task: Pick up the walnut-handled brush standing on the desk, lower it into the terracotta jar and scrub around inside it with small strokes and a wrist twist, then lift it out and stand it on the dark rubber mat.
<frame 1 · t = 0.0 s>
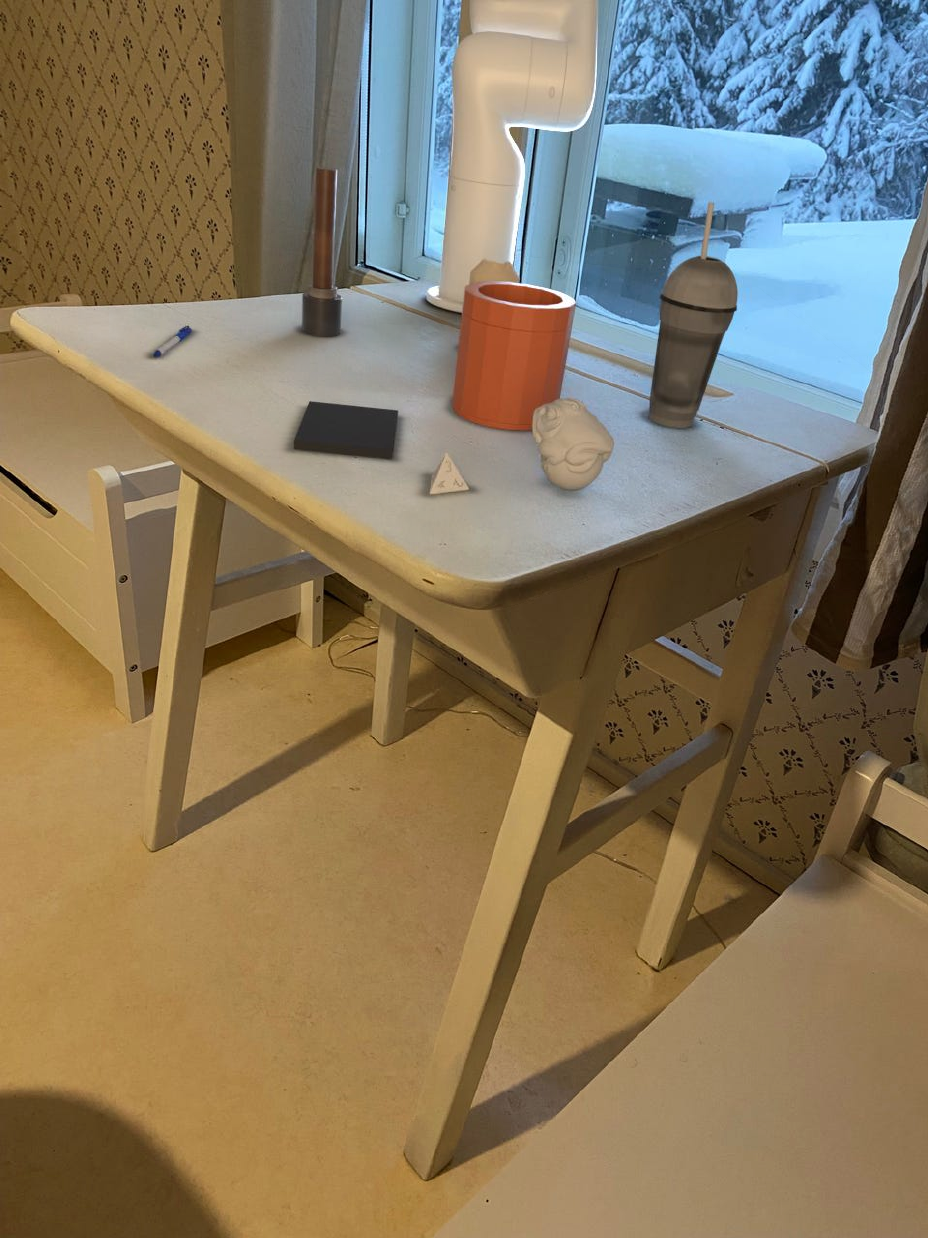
frog figurine: (563, 488, 75), on the table
brush: (321, 331, 107), on the table
tetrahedral die: (440, 491, 72), on the table
beverage cup: (669, 421, 93), on the table
mat: (348, 433, 80), on the table
blue and white marker: (173, 347, 96), on the table
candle: (485, 353, 107), on the table
jar: (503, 412, 89), on the table
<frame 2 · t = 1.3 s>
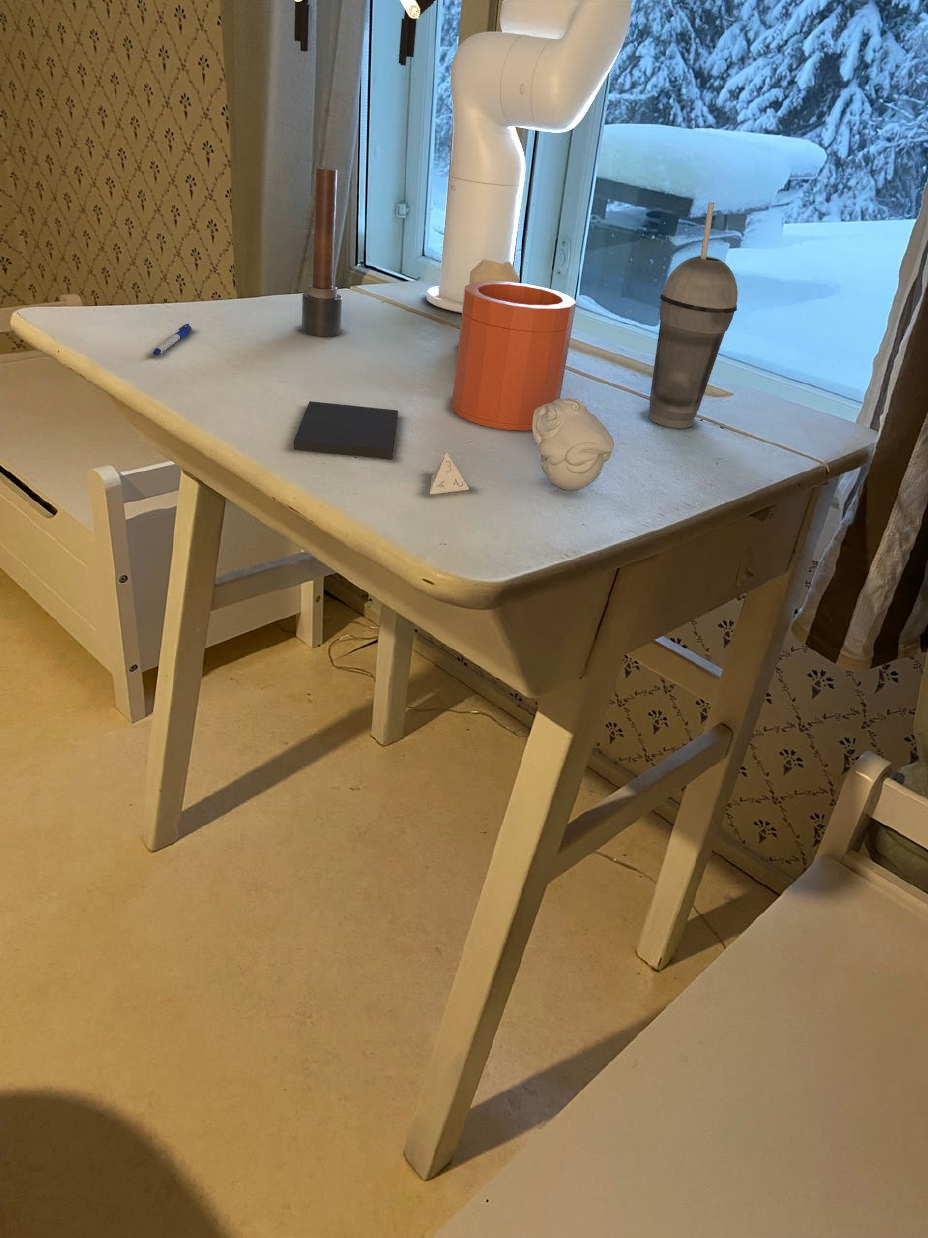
hand: (354, 58, 92), 27 cm above the table, tool pointing down, fingers open, 9 cm apart
nothing on the table moved.
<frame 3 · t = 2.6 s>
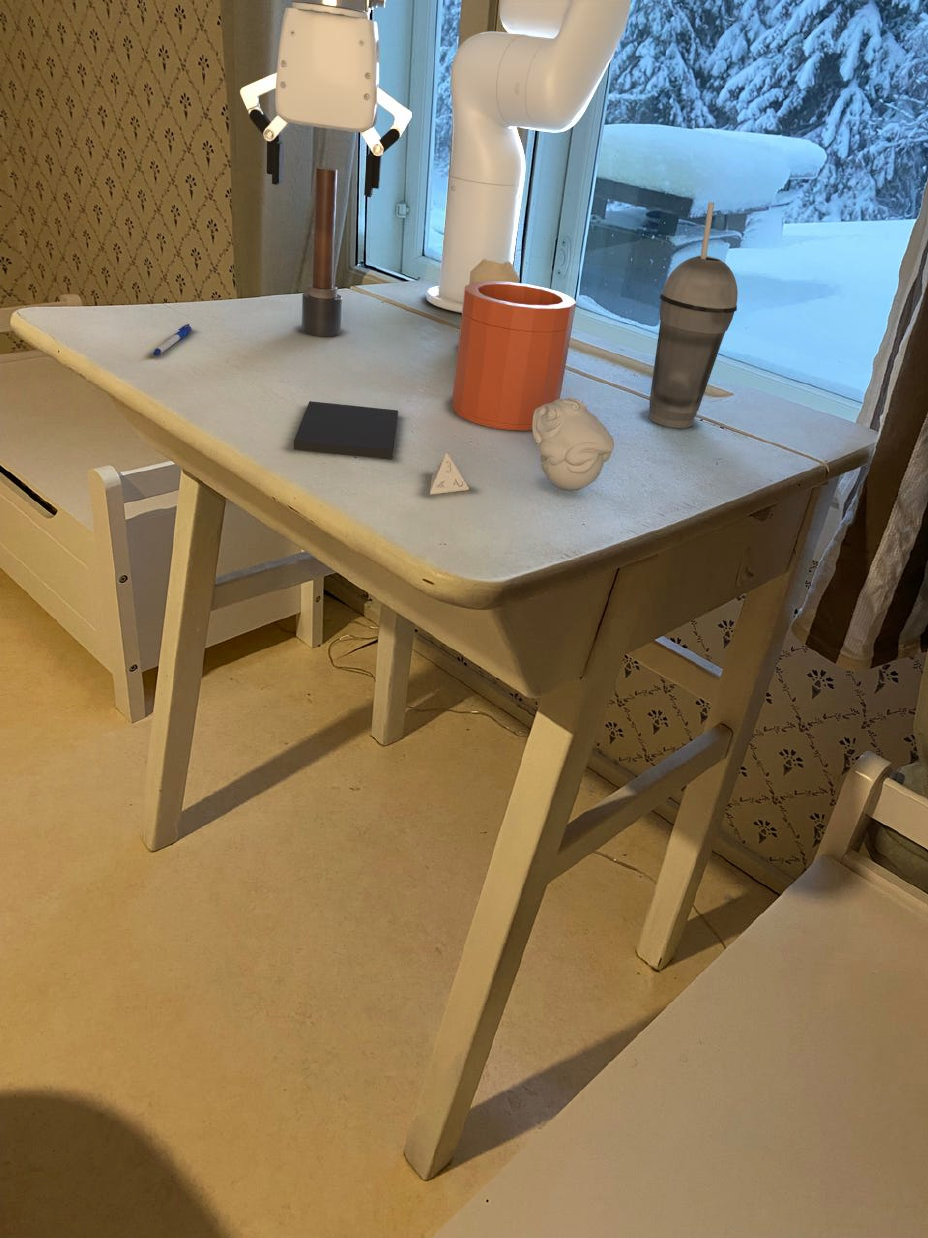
hand: (323, 189, 99), 15 cm above the table, tool pointing down, fingers open, 9 cm apart
nothing on the table moved.
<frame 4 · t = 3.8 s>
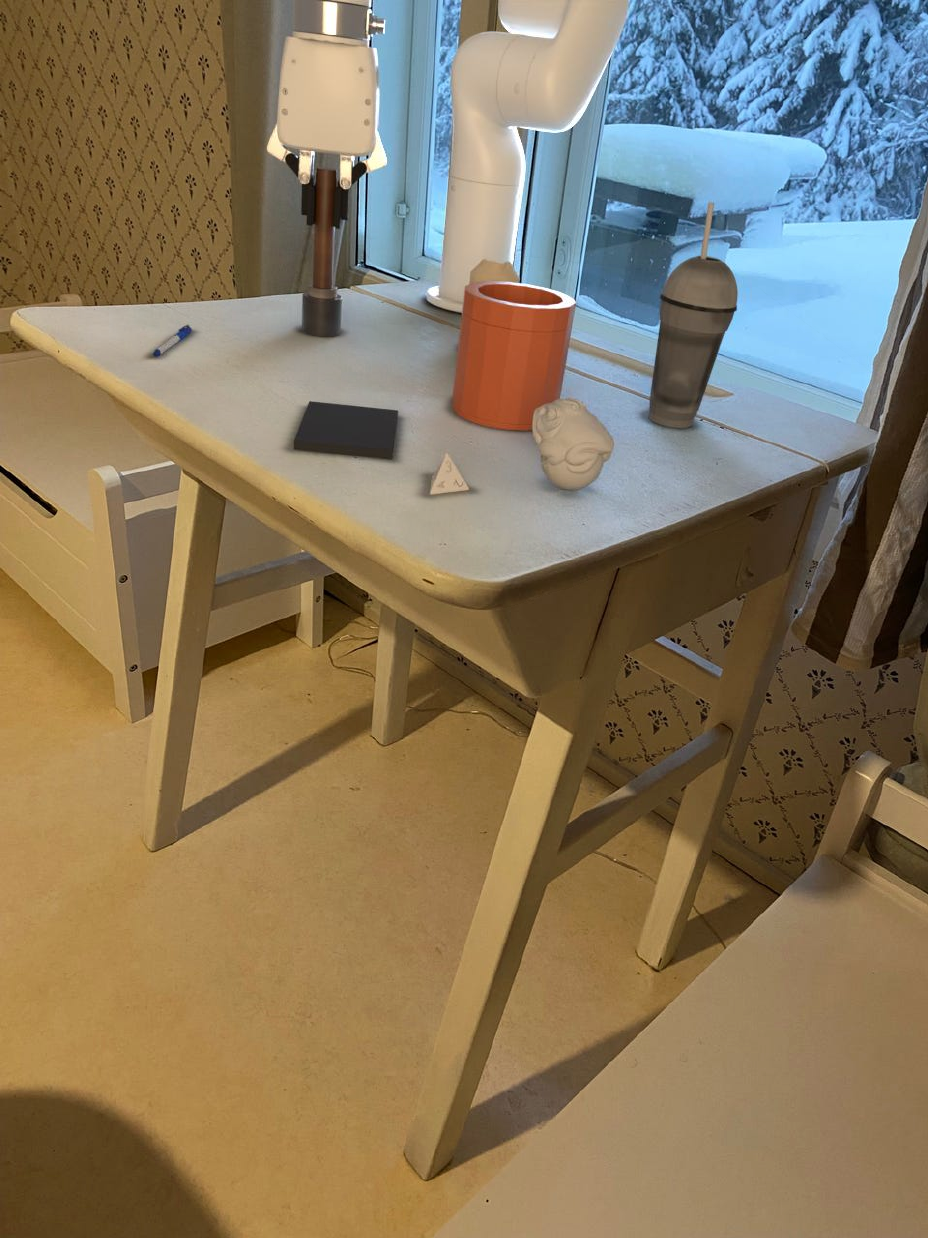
hand: (324, 223, 101), 12 cm above the table, tool pointing down, fingers closed on brush, 2 cm apart
brush: (321, 331, 107), on the table, touching gripper
everything else where it was.
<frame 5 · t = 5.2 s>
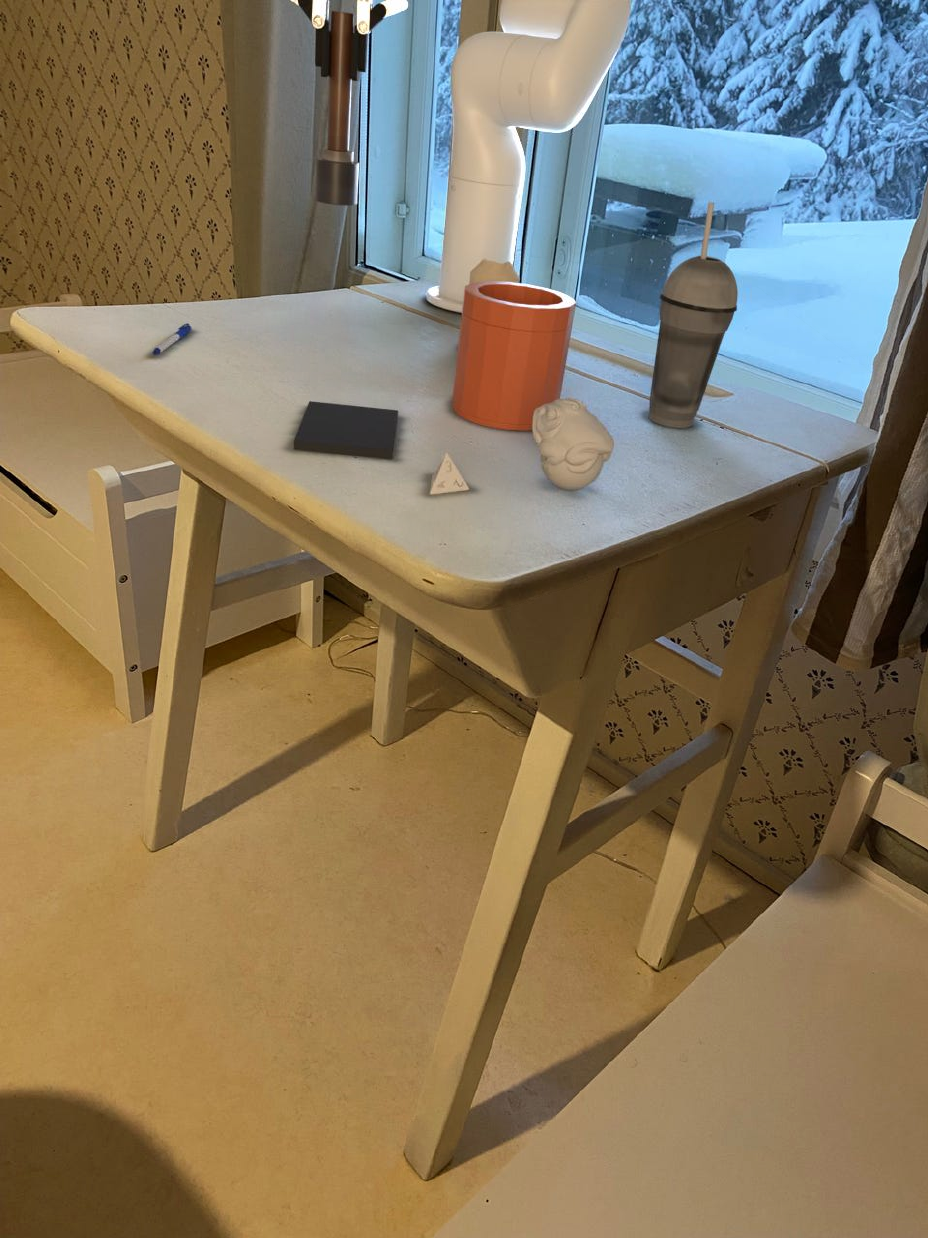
hand: (340, 76, 93), 26 cm above the table, tool pointing down, fingers closed on brush
brush: (336, 201, 99), point 14 cm above the table, touching gripper
everything else where it was.
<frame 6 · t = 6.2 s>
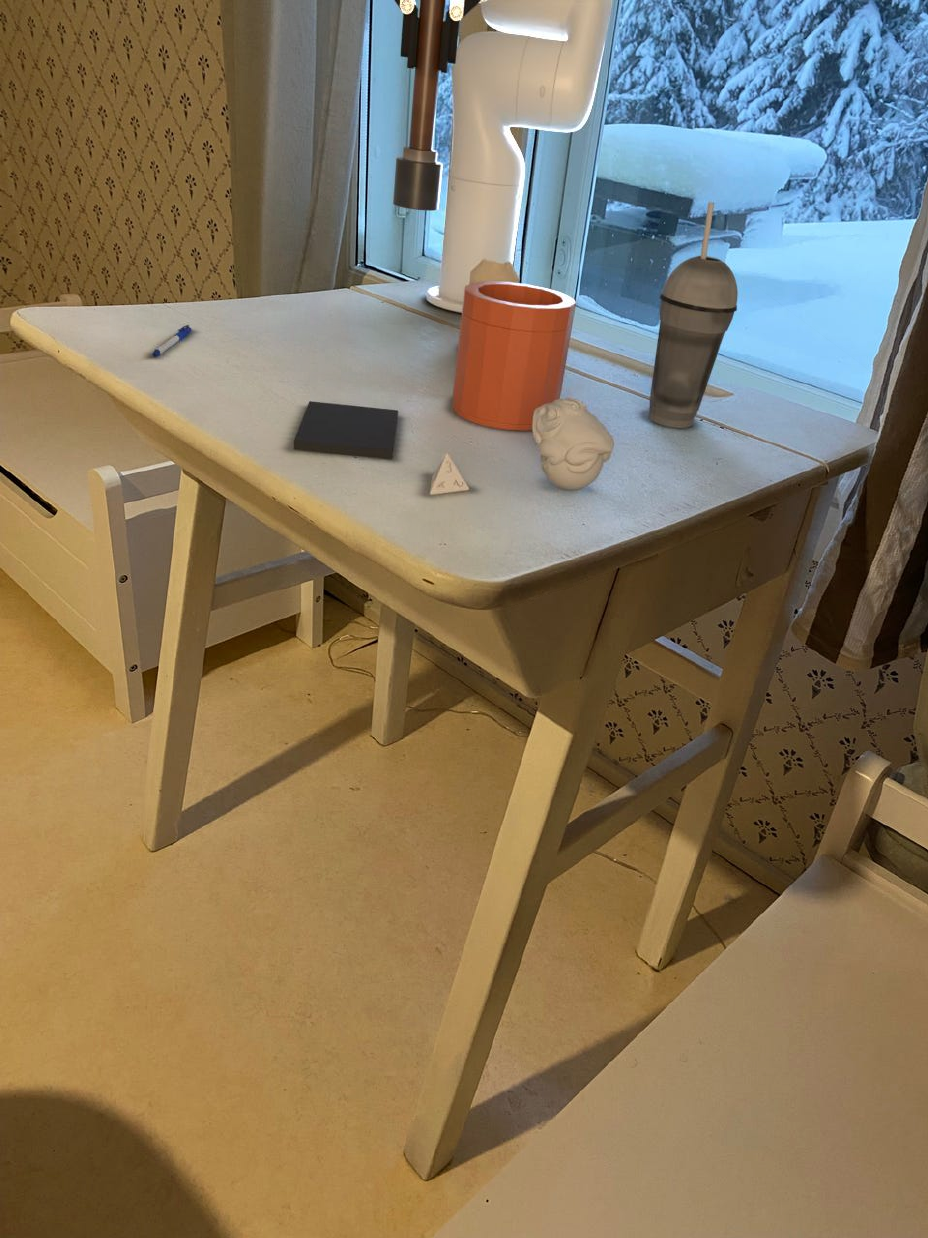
hand: (427, 68, 84), 27 cm above the table, tool pointing down, fingers closed on brush
brush: (415, 206, 90), point 16 cm above the table, touching gripper
everything else where it was.
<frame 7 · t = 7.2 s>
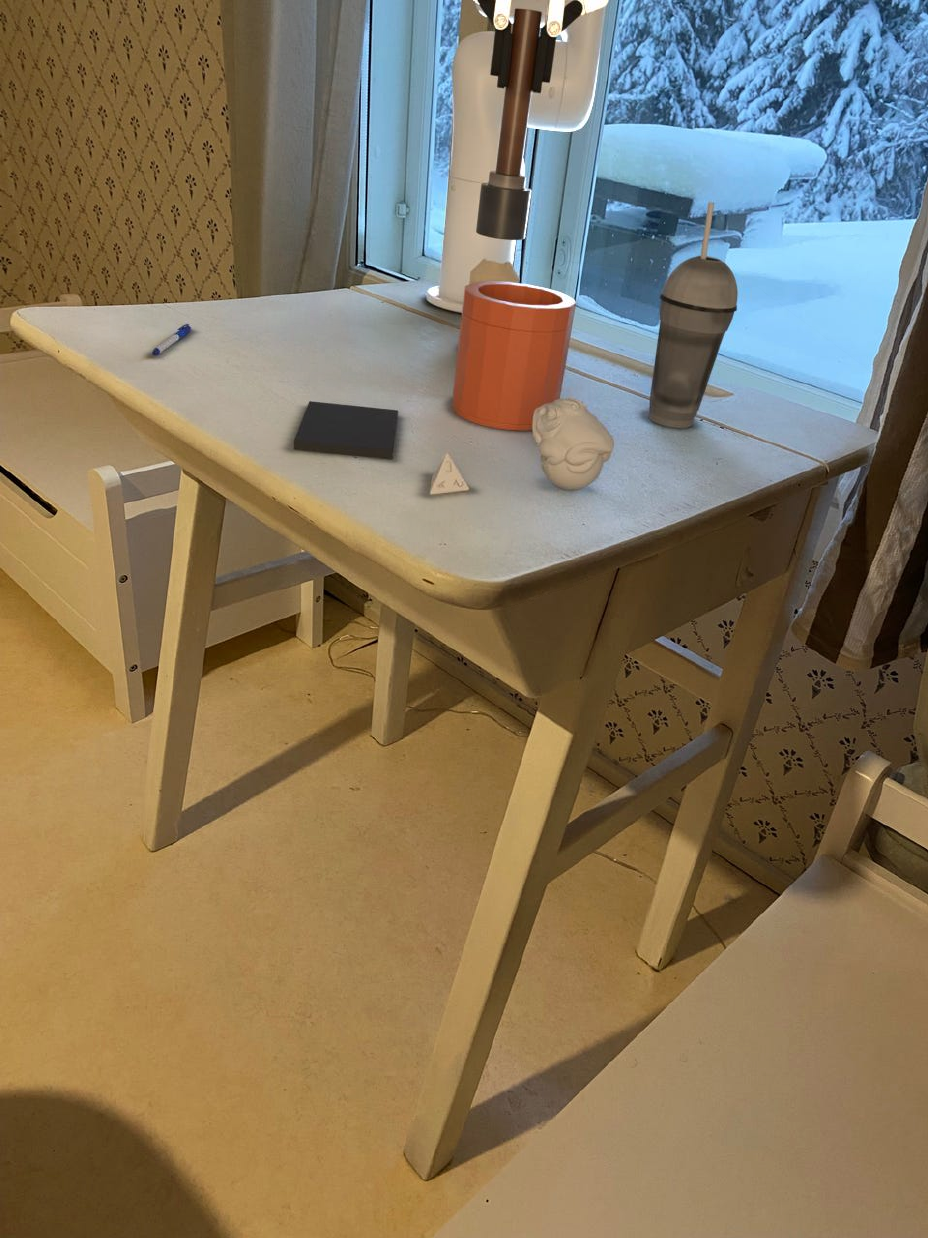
hand: (518, 87, 77), 27 cm above the table, tool pointing down, fingers closed on brush
brush: (500, 235, 83), point 15 cm above the table, touching gripper
everything else where it was.
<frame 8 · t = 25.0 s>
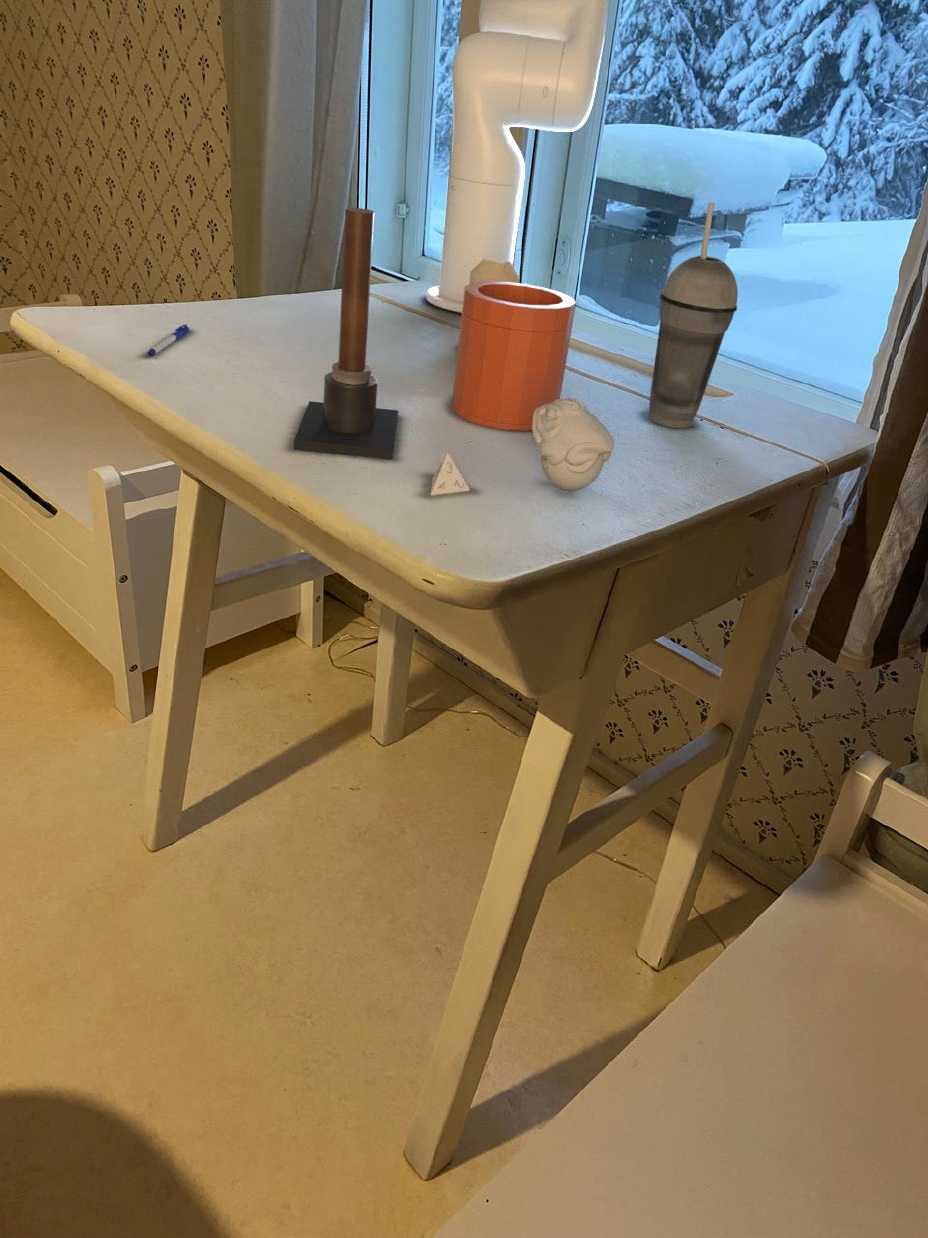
brush: (348, 424, 79), point 1 cm above the table, touching mat
everything else where it was.
at the end: brush 0.1 cm off-centre on the mat, point 0.8 cm above the mat's base; brush tilted 0°; the gripper is holding nothing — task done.
